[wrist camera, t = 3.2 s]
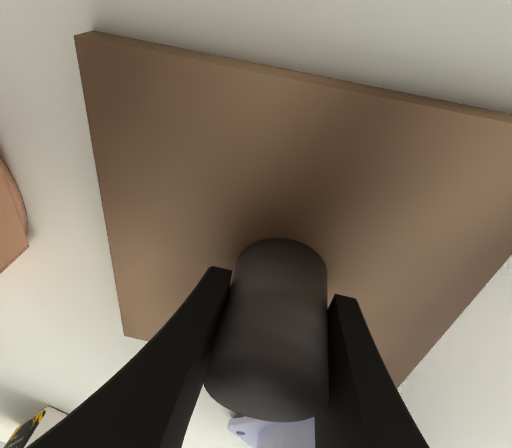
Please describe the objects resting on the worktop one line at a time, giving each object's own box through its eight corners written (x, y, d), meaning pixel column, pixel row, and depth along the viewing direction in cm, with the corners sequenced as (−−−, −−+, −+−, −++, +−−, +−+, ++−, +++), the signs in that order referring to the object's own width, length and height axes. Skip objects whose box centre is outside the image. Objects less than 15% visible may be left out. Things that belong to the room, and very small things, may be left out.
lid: (584, 128, 8) (828, 276, 4) (386, 379, 15) (407, 514, 11) (92, 30, 8) (-102, 81, 4) (132, 321, 16) (71, 432, 12)
